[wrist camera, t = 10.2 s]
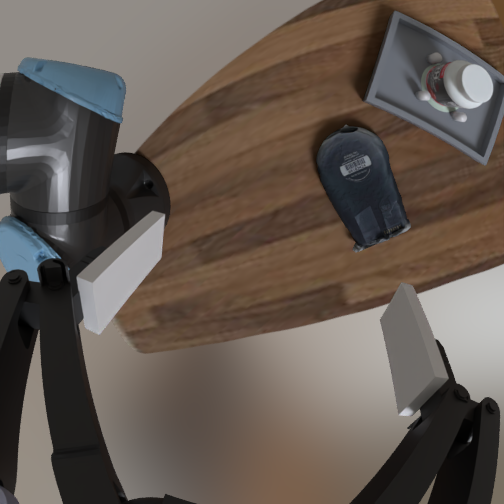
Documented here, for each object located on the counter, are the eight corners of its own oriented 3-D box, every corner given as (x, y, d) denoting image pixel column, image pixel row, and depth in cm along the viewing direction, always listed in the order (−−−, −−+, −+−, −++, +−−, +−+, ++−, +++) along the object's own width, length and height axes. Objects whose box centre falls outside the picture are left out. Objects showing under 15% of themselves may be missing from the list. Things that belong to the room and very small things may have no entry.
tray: (362, 101, 32) (367, 100, 29) (390, 15, 25) (396, 8, 22) (477, 161, 31) (489, 167, 28) (502, 82, 24) (515, 82, 21)
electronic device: (410, 212, 38) (370, 114, 32) (417, 234, 34) (375, 124, 28) (351, 232, 43) (304, 142, 37) (352, 256, 39) (300, 157, 32)
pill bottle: (421, 63, 26) (453, 52, 18) (458, 68, 25) (496, 62, 17) (425, 104, 29) (458, 106, 20) (461, 109, 28) (500, 113, 19)
